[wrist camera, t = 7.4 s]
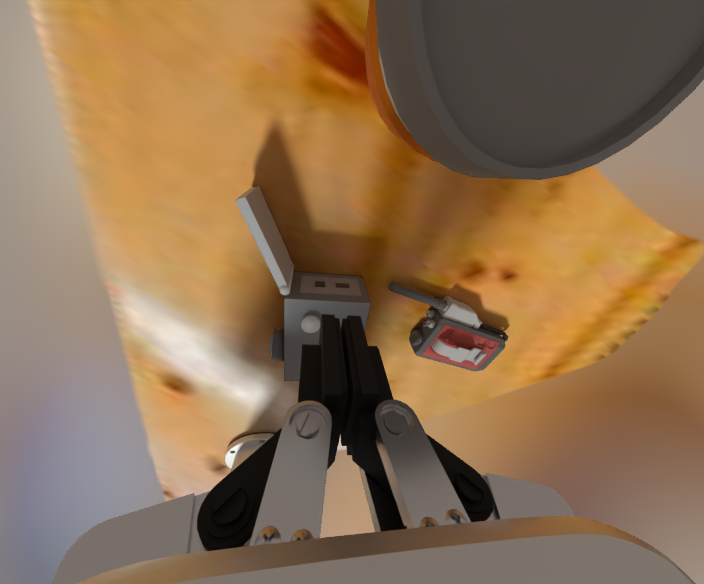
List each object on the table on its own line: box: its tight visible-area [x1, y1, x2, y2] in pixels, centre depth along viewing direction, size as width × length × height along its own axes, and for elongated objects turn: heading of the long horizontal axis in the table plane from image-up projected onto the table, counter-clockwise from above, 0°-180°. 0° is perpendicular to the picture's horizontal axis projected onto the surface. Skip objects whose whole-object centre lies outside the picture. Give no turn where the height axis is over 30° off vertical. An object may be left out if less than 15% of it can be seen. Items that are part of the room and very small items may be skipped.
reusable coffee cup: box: [365, 0, 704, 180], centre depth 13 cm, size 12×13×15 cm
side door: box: [235, 186, 294, 295], centre depth 23 cm, size 1×9×5 cm, turn 15°
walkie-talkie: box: [389, 283, 508, 371], centre depth 33 cm, size 9×4×20 cm
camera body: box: [270, 272, 371, 381], centre depth 28 cm, size 11×10×6 cm
